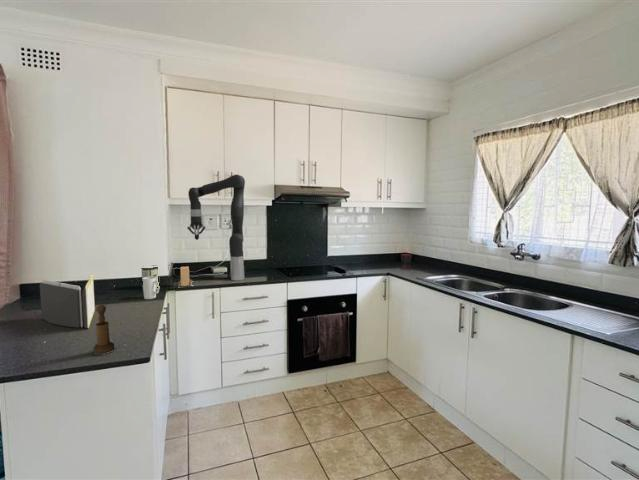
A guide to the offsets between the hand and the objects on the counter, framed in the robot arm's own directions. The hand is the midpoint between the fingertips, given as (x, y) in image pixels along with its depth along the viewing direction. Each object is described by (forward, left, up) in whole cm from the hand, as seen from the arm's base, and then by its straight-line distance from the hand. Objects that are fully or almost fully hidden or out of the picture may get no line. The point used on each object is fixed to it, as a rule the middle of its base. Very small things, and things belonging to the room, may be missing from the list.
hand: (197, 239), depth 244 cm
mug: (+25, +43, -29) cm, 58 cm away
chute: (+8, +16, -29) cm, 34 cm away
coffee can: (+29, +18, -29) cm, 45 cm away
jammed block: (+8, +19, -29) cm, 36 cm away
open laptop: (+52, +71, -29) cm, 93 cm away
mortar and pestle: (+32, +116, -29) cm, 124 cm away
